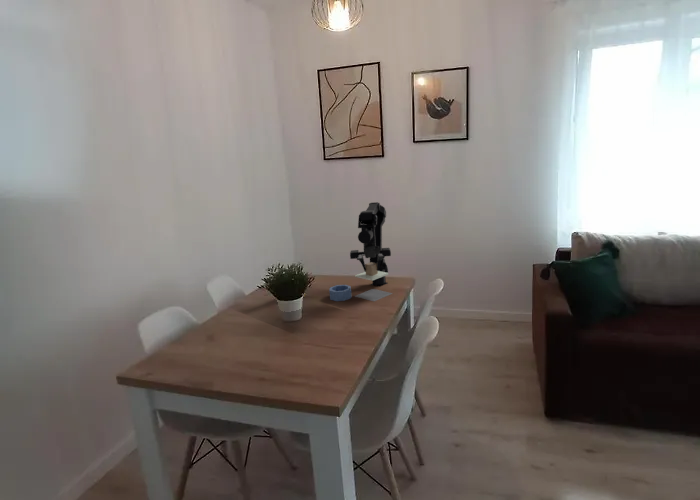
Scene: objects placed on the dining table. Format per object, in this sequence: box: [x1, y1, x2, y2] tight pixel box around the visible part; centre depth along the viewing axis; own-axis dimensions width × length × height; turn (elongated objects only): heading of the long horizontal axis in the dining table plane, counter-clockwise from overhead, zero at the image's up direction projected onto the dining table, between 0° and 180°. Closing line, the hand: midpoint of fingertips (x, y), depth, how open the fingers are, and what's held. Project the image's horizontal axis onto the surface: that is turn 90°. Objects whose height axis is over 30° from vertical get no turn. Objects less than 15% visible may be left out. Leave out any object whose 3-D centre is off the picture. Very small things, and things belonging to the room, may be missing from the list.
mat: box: [354, 288, 393, 302], centre depth 218 cm, size 13×13×1 cm
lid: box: [354, 261, 389, 282], centre depth 214 cm, size 11×11×6 cm
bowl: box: [328, 284, 352, 302], centre depth 218 cm, size 10×10×5 cm
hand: (371, 270), depth 215 cm, fingers closed on lid, 6 cm apart
